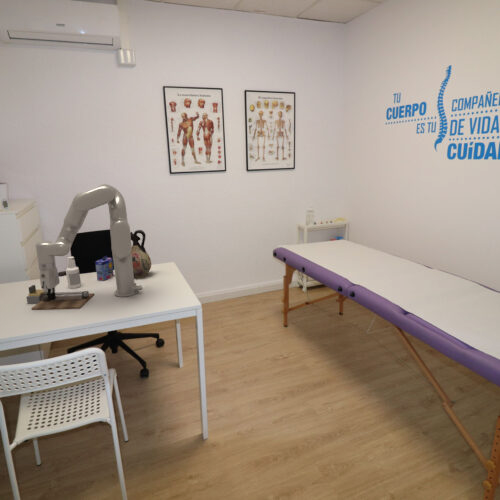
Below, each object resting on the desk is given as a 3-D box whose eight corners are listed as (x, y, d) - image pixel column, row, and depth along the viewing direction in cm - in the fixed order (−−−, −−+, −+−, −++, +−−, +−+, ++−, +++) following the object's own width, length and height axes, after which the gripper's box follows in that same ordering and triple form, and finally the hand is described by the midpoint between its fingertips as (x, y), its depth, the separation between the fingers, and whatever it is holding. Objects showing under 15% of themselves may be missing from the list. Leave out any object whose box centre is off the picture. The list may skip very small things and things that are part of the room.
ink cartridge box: (104, 281, 218) (101, 258, 214) (96, 280, 219) (93, 257, 216) (114, 276, 227) (112, 254, 223) (107, 275, 229) (104, 253, 225)
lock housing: (48, 297, 194) (46, 291, 193) (39, 303, 186) (38, 296, 185) (36, 297, 194) (34, 291, 193) (27, 303, 186) (26, 296, 185)
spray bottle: (76, 289, 206) (71, 259, 201) (65, 288, 207) (61, 258, 202) (83, 285, 212) (79, 255, 207) (73, 284, 213) (69, 255, 209)
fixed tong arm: (83, 295, 193) (83, 291, 192) (81, 297, 190) (81, 293, 190) (48, 296, 192) (48, 292, 192) (46, 298, 190) (45, 293, 190)
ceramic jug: (123, 280, 219) (117, 232, 212) (132, 272, 234) (127, 227, 226) (150, 279, 219) (145, 232, 211) (157, 271, 233) (153, 226, 226)
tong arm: (89, 296, 192) (89, 290, 191) (87, 299, 188) (86, 293, 187) (46, 298, 190) (45, 292, 189) (42, 301, 186) (41, 295, 185)
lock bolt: (46, 291, 192) (45, 284, 191) (40, 295, 186) (38, 288, 185) (35, 291, 192) (33, 284, 191) (28, 296, 186) (27, 288, 185)
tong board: (94, 295, 196) (94, 293, 196) (79, 308, 179) (79, 306, 179) (50, 296, 196) (50, 294, 196) (31, 309, 179) (31, 308, 178)
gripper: (47, 270, 173) (52, 305, 178) (62, 261, 187) (66, 294, 192) (31, 270, 173) (36, 305, 177) (47, 261, 187) (52, 294, 192)
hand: (52, 299), depth 185 cm, fingers closed
